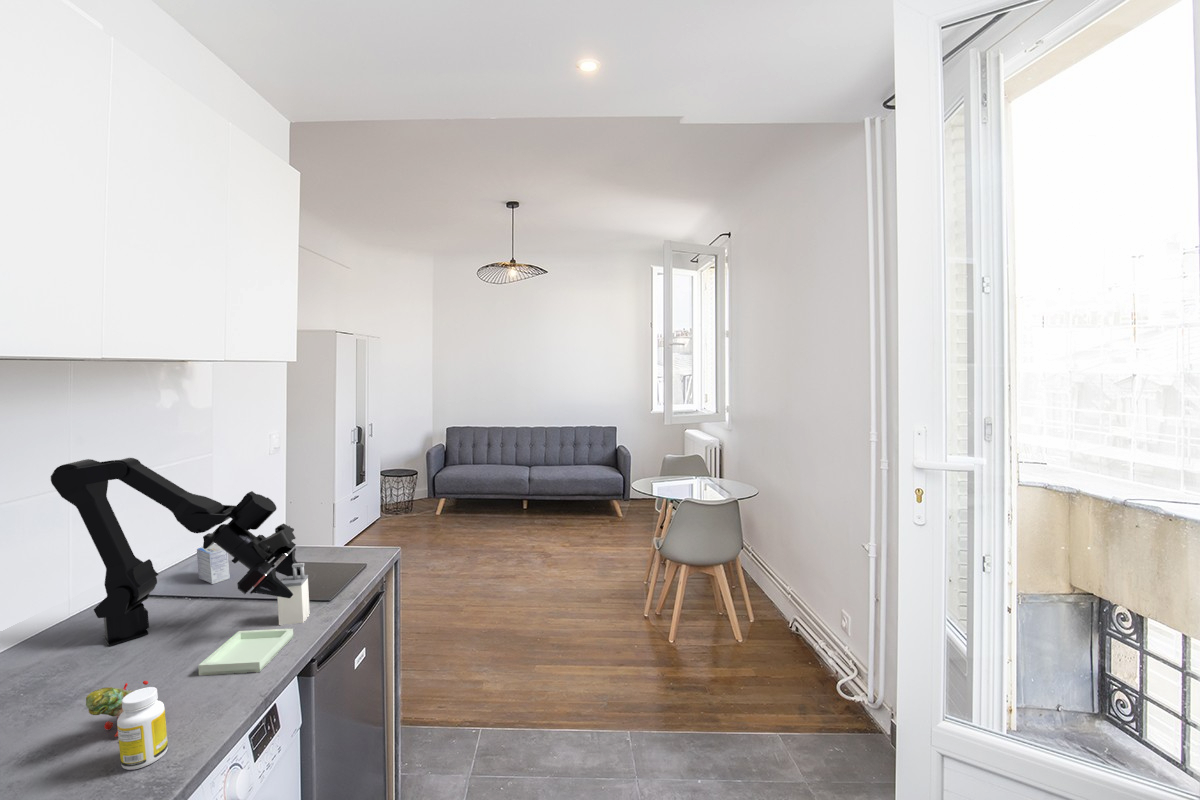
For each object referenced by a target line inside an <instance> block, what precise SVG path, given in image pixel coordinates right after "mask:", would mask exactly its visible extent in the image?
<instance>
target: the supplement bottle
mask: <svg viewBox="0 0 1200 800" xmlns="http://www.w3.org/2000/svg"><path fill="white" fill-rule="evenodd" d="M158 697H159V694H158V688H156V687H154V686H147V687H144V688H139V689H136V690H133V692H131V693H129V694H128V695H126V696H125V697H124V698H123V699H122V709H123V711H124V712H122V713H121V715H120V716H119V718H118V717H117V719H118V720H116V726H117V728H116V729H117V730H118V736H117V737H118V747H119V748H118V749H119V757H120V765H121V767H122V768H123V769H124V770H128V771H129V770H132V771H133V770H138V769H143V768H145V767H147V766H150V765H151V764H154V763H155V762H157V761H158V760H160V759H161V758H162V757H164V756H165V754H166V753H167V751H168V750H169V749H168V748H169V745H168V744H169V742H168V741H169V740H168V731H167V722H166V721H167V720H166V708H165V704H164V702H163V701H161V700H158Z"/></svg>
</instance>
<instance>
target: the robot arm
mask: <svg viewBox="0 0 1200 800" xmlns="http://www.w3.org/2000/svg"><path fill="white" fill-rule="evenodd" d="M112 480H119V481H121V482H122V483H124V484H126V485H128V486H129V487H130V488H132V489H134V490H136V491H137V492H139V493H141V494H143V495H144V496H146V497H148V498H149V499H151V501H152V500H153V501H154V502H156V503H157V504H159V505H161V506H163V507H164V508H166V509H167V510H169V511H170V512H171V513H172V514H173V516H174V518H175V519H176V521H177V523H179V524H180V525H181V526H183V527H184V528H185V529H186V530H187V531H189V532H191V533H194V534H201V533H205V532H206V533H207V532H208V531H209V530H211V529H213V528H214V527H216V526H218V525H219V526H218V527H216V529H215V530H213V532H211V533H207V534H205V535H204V536H203V538H202V539H203V545H202V547H203V548H204V549H206V548H208V547H210V546H211V545H213V544H215V545H218V546H219V547H221V548H222V549H223V550H225V551H226V552H227V553H228V555H230V556H231V557H232V558H233V559H231V563H233V564H237V563H238V562H240V563H241V564H242V565H243V566H245V567H246V568H247V569H248V571H247V572H246V573H245V575H244V576H243V577H242V578H241V579H240V580H239V581H237V589H238V590H239V591H240V592H241V593H243V594H244V595H246V594H247V593H248V592H249V591H250V592H249V594H250V595H252V594H259V595H266V596H267V595H268V596H273V597H277V596H278V597H284V598H291V597H292V596H293V593H292V592H291V591H290V590H289V589H288V588H287V587H286V586H285V585H284V584H283V583H282V582H281V581H280V580H281V579H279V578H278V577H277V573H278V574H281V575H284V576H285V577H286V576H293V568H292V565H293V564H296V563H298V562H297V559H296V551H297V548H296V547H295V546H296V545H297V544H296V543H294V542H293V540H296V536H295V534H294V532H295V528H293V527H291V526H290V525H287V524H285V523H281V524H280V525H278V526H276V527H275V529H274V533H272V534H271V535H269V536H267V537H266V536H265V535H263V534H259V535H255V534H253V532H251V531H252V530H253V531H255V530H258V529H259V528H260V527H261V526H262V525H263V524H264V523H265V522H266V521H267V520H268V519H269V518H270V517H271V516H272V515H273V514H274V513H275V512H276V511H277V506H276V503H275V502H274V501H273V500H272V499H270V498H269V497H266V496H264V495H262V494H258V493H256V492H254V491H252V490H251V491H248V492H247V493H246V494H245V495H244V496H243V498H242V499H241V500H240V502H239V503H237V505H232V504H231V505H230V504H229V505H227V504H222V503H221V502H220V501H218V500H215V499H213V498H211V497H208V496H205V495H199V494H196V493H195V494H194V493H192V492H189V491H187V490H185V489H184V488H182V487H180V485H177V484H176V483H174V482H172V481H171V480H169V479H167V478H165V477H164V476H162V475H161V474H159V473H157V472H156V471H154V470H153V469H151V468H150V467H147V466H146V465H144V464H143V463H141V461H140V460H139V459H137V458H134V457H126V458H122V459H113V460H105V461H97V460H96V459H95V460H94V459H90V458H88V459H87V458H86V459H82V460H78V461H73V462H68V463H66V464H61V465H59V466H57V467H55V469H54V470H53V472H52V474H51V475H50V482H51V484H52V486H53V487H54V489H55V491H56V492H57V493H58V494H59V496H60V497H61V499H64V500H66V501H67V502H69V504H71V505H73V506H75V507H76V509H77V511H78V513H79V515H80V517H81V519H82V521H83V524H84V525H85V527H86V529H87V532H88V534H89V536H90V538H91V540H92V542H93V545H94V546H95V547H96V550H97V552H98V554H99V556H100V558H101V560H102V562H103V564H104V565H103V566H105V576H104V588H105V592H106V597H105V598H104V599H103V600H102V601H101V602H99V604H98V605H96V606H95V607H94V609H93V612H94V613H95V616H96V617H97V619H103V625H104V627H103V628H104V634H103V636H102V637H104V638H103V640H104V641H105V643H106V644H107V646H109V647H112V646H115V645H118V644H121V643H124V642H127V641H132V640H133V639H137V638H141V637H143V636H147V635H149V631H148V630H149V628H150V622H149V610H148V609H147V608H146V607H145V604H143V603H144V602H145V601H147V600H148V599H149V597H150V594H151V592H153V590H155V588H156V586H157V584H158V578H157V576H159V573H158V572H157V571H156V569H154V565H153V561H152V560H151V559H147V560H145V561H142V560H141V559H139V558H138V557H136V556H135V554H134V552H133V550H132V548H131V545H130V543H129V542H128V539H127V537H126V535H125V533H124V531H123V528H122V527H121V525H120V522H119V520H118V518H117V517H116V514H115V512H114V509H113V507H112V506H111V504H110V501H109V499H108V495H107V493H108V487H109V481H112ZM229 519H231V520H229ZM226 521H229V522H228V523H224V522H226ZM298 575H300V567H297V576H298ZM304 575H306V574H305V573H304ZM252 588H253V589H252Z"/></svg>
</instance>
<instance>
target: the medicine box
mask: <svg viewBox="0 0 1200 800" xmlns="http://www.w3.org/2000/svg"><path fill="white" fill-rule="evenodd" d="M196 559H197V569H198V572H197V573H198V579H200V580H202V581H204V582H207V583H209V584H212V585H215V584H218V583H221V582H224V581H227V580H230V579H231V576H230V566H229V553H227V552H226V551H225V550H223V549H222V548H221V547H219V546H218V545H217V544H215V543H214V544H213V545H211V546H210V547H208V548H206V549H204V548H203V546H201V547H198V548H196Z"/></svg>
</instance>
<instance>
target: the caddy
mask: <svg viewBox="0 0 1200 800" xmlns="http://www.w3.org/2000/svg"><path fill="white" fill-rule="evenodd" d="M297 567H300V575H298V576H297ZM292 568H293V576H286V575H285V576H283V577H282V578H281V579H279V580H280V581H281V582H282V583H283V584H284V585H285V586H286V587H287V588H288V589H289V590H290V591H291V592H292V593H293V596H292V597H291V598H284V597H278V596H276V597H277V610H278V611H277V613H278V615H277V616H278V626H279V625H281V626H286V625H285V624H291V625H295V624H294V623H302V624H304V623H305V622H306V620H307V619H308V618H309V616H310V615H311V613H310V597H309V596H310V595H309V594H310V593H309V574H305V562H297V563H296V564H293V565H292ZM304 574H305V575H304ZM309 614H310V615H309ZM307 617H308V618H307ZM304 621H305V622H304Z"/></svg>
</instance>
